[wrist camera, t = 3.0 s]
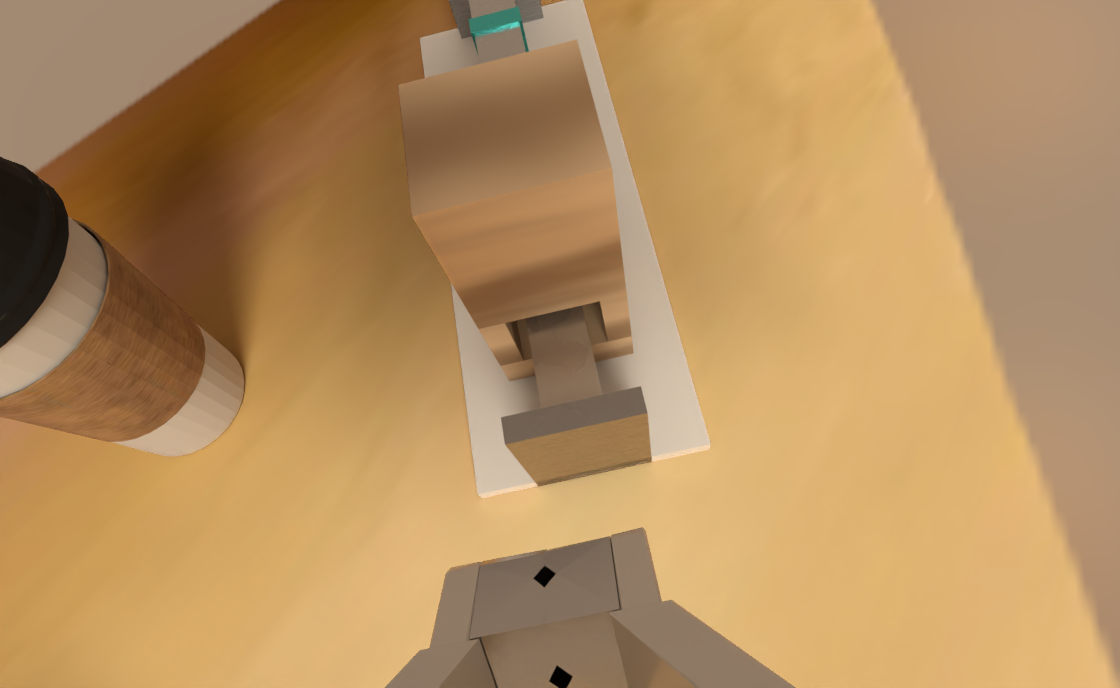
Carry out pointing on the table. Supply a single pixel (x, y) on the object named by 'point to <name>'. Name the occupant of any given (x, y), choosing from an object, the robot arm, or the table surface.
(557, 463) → the sliding carriage track
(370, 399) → the table surface
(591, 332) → the wooden slider block
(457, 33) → the board
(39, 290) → the coffee cup
